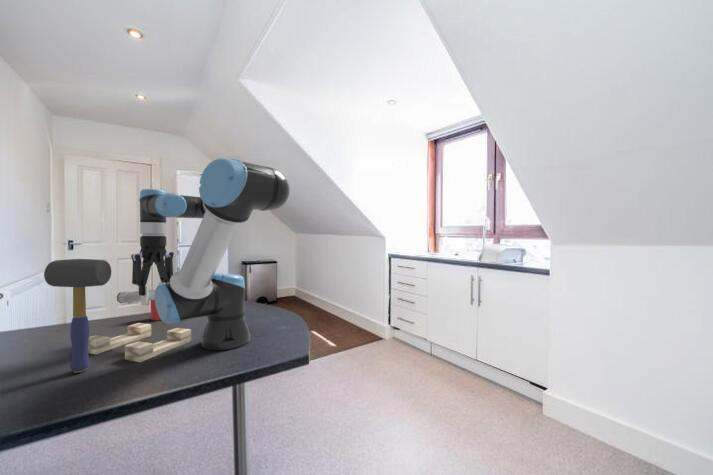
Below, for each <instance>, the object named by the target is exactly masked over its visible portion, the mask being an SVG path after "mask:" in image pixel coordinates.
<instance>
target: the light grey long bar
mask: <svg viewBox="0 0 713 475" xmlns="http://www.w3.org/2000/svg"><path fill="white" fill-rule="evenodd" d="M155 290H156V289H149V301H151V300H155ZM116 301H117V302H118V303H119V304H125V303H127V304H132V303H135V302H141V296H140V295H139V290H133V289H129V290H126V291H122V292H121V291H120V292H118V294H117V295H116Z"/></svg>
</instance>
